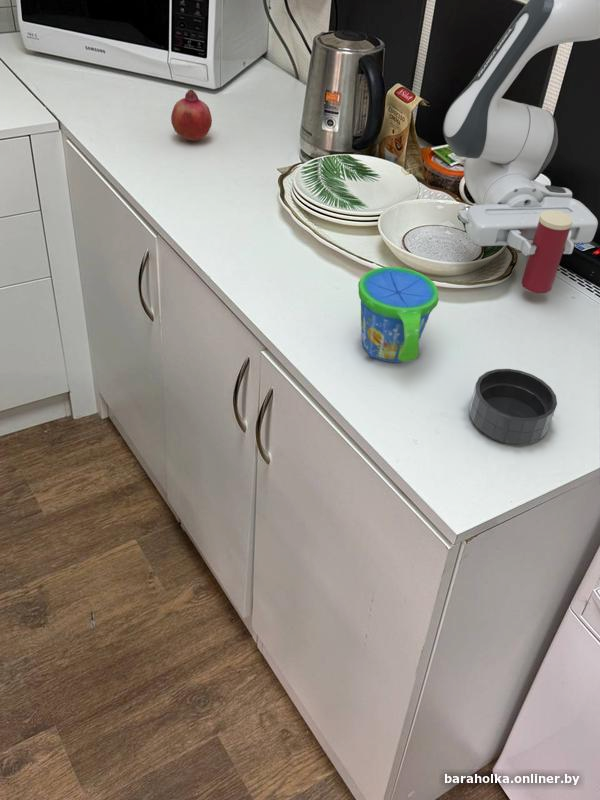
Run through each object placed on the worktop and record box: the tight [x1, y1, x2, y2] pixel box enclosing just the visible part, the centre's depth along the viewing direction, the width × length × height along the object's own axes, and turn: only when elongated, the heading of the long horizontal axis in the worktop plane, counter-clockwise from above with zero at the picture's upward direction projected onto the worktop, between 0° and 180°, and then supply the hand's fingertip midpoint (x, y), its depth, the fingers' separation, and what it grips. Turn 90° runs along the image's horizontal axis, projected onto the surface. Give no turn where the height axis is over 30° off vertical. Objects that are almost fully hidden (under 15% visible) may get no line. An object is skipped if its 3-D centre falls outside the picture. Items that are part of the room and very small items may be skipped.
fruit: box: [170, 88, 213, 142], centre depth 160 cm, size 8×8×10 cm
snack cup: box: [357, 266, 439, 363], centre depth 109 cm, size 16×10×10 cm
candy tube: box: [521, 210, 573, 294], centre depth 121 cm, size 5×5×12 cm
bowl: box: [468, 368, 558, 446], centre depth 101 cm, size 10×10×4 cm
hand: (550, 250), depth 119 cm, fingers closed on candy tube, 4 cm apart
